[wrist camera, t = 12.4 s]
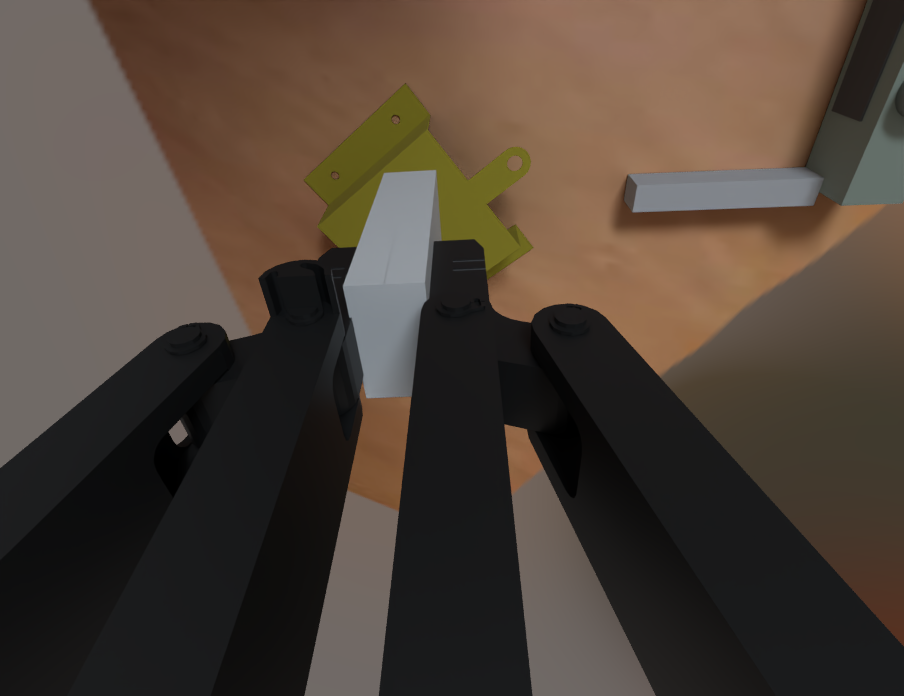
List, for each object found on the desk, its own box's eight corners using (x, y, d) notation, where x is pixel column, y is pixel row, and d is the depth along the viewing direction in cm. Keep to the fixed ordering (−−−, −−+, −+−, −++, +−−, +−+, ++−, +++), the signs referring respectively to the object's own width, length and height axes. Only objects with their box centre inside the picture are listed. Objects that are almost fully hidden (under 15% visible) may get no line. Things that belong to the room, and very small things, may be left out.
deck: (693, -221, 26) (750, -266, 21) (1038, -242, 25) (1181, -294, 20) (623, 200, 39) (648, 234, 34) (849, 191, 38) (907, 224, 33)
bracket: (599, 262, 34) (428, 372, 39) (577, 217, 40) (432, 317, 45) (452, 54, 26) (269, 225, 32) (452, 38, 33) (299, 183, 38)
